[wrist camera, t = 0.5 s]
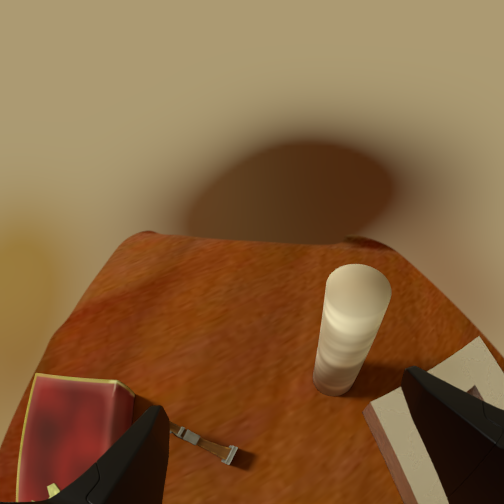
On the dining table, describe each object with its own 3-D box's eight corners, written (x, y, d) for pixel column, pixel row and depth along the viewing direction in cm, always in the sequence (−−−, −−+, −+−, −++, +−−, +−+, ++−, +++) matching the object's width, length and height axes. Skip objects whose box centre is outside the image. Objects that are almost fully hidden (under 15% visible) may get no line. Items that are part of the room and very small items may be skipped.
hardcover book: (138, 395, 25) (119, 379, 22) (137, 577, 9) (114, 584, 7) (55, 388, 25) (34, 371, 23) (41, 540, 10) (15, 537, 7)
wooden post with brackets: (152, 407, 23) (149, 401, 20) (227, 446, 23) (238, 447, 19) (143, 422, 22) (139, 419, 18) (219, 461, 21) (229, 465, 18)
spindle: (360, 386, 23) (403, 301, 15) (322, 402, 23) (344, 325, 14) (343, 353, 26) (369, 257, 18) (306, 367, 26) (315, 274, 17)
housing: (519, 444, 13) (536, 435, 11) (416, 531, 11) (430, 533, 9) (466, 350, 23) (478, 336, 21) (362, 412, 21) (370, 402, 19)
